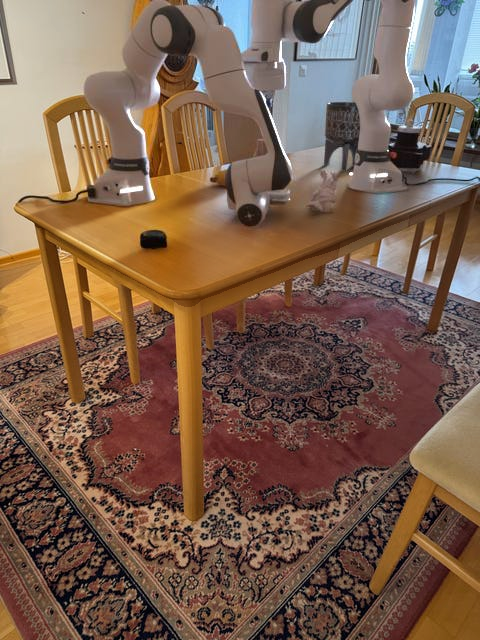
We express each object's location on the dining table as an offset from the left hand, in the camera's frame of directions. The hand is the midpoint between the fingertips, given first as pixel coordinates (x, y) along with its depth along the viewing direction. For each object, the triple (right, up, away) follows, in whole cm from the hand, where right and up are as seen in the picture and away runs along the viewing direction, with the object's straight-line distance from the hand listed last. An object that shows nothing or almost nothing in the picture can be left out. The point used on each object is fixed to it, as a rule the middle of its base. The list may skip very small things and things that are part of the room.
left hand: (260, 189), depth 150 cm
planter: (+40, +28, +60) cm, 78 cm away
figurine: (+20, -7, -1) cm, 21 cm away
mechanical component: (+70, +26, +59) cm, 96 cm away
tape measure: (-29, -25, -33) cm, 50 cm away
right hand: (0, +21, -13) cm, 25 cm away
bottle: (0, -5, +2) cm, 6 cm away
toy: (-12, +9, +27) cm, 31 cm away
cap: (0, +23, -14) cm, 27 cm away
